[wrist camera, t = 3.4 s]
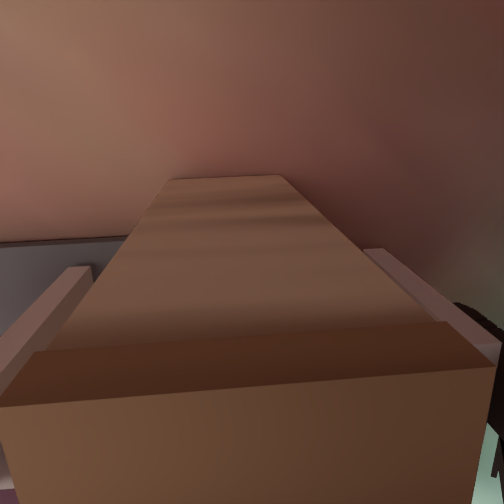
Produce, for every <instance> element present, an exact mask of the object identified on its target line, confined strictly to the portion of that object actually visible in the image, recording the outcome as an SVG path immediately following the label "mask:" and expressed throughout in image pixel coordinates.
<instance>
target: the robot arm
mask: <svg viewBox="0 0 504 504" xmlns="http://www.w3.org/2000/svg"><path fill="white" fill-rule="evenodd" d="M363 253H364V254H365V255H366V256H367V257H368V258H369V259H370V260H371V261H372V262H374V263H375V264H376V265H377V266H378V267H379V268H380V269H381V270H382V271H383V272H384V273H385V274H386V275H387V276H388V277H389V278H391V279H392V280H393V281H394V282H395V283H396V284H397V285H398V286H399V287H400V288H401V289H402V290H403V291H404V292H405V293H407V294H408V295H409V296H410V297H411V298H412V299H413V300H414V301H415V302H416V303H417V304H418V305H419V306H420V307H421V308H423V309H424V310H425V311H426V312H427V313H428V314H429V315H430V316H431V317H432V318H433V319H434V320H435V321H436V322H440V321H447V322H448V323H449V324H450V325H451V326H452V327H453V328H454V329H456V330H457V331H458V332H459V333H460V334H461V335H462V336H463V337H464V338H466V339H467V340H468V341H469V342H470V343H471V344H472V345H473V346H474V347H476V348H477V349H478V350H479V351H480V352H481V353H482V354H483V355H484V356H486V357H487V358H488V359H489V360H490V361H491V362H492V363H493V364H495V365H496V366H497V369H496V374H495V379H494V385H493V390H492V395H491V401H490V406H489V411H488V417H487V422H486V424H487V423H488V424H489V425H490V426H491V427H492V428H493V429H494V431H495V432H496V433H497V434H498V435H499V438H498V443H497V448H496V453H495V458H494V462H493V467H492V473H491V477H495V478H496V477H497V473H498V471H499V476H500V483H501V490H502V497H503V504H504V331H503V330H502V329H500V328H497V326H496V325H495V324H494V323H492V322H491V321H490V320H487V318H486V317H484V316H483V315H482V314H480V313H479V312H478V311H476V310H475V309H473V308H470V307H468V306H466V305H463V304H461V303H459V302H456V303H451V302H450V301H449V300H448V299H446V298H445V297H444V296H443V295H441V294H440V293H439V292H438V291H436V290H435V289H434V288H433V287H431V286H430V285H429V284H428V283H426V282H425V281H424V280H423V279H421V278H420V277H419V276H418V275H416V274H415V273H414V272H413V271H411V270H410V269H409V268H408V267H406V266H405V265H404V264H402V263H401V262H400V261H399V260H397V259H396V258H395V257H394V256H392V255H391V254H390V253H389V252H387V251H386V250H385V249H384V248H376V249H363ZM93 284H94V283H93V278H92V272H91V266H79V267H68V268H67V269H66V270H65V271H64V272H63V273H62V274H61V275H60V276H59V277H58V278H57V279H56V280H55V281H54V282H53V283H52V284H51V285H50V286H49V287H48V288H47V289H46V290H45V292H44V293H43V294H42V295H41V296H40V297H39V298H38V299H37V300H36V301H35V302H34V303H33V304H32V305H31V306H30V307H29V308H28V309H27V310H26V311H25V312H24V313H23V314H22V315H21V316H20V317H19V318H18V319H17V320H16V321H15V322H14V323H13V324H12V325H11V326H10V327H9V328H8V329H7V330H6V331H5V333H4V334H3V335H2V336H0V396H1V395H2V394H3V392H4V391H5V390H6V388H7V387H8V386H9V384H10V383H11V382H12V381H13V379H14V378H15V377H16V375H17V374H18V373H19V371H20V370H21V369H22V368H23V366H24V365H25V364H26V362H27V361H28V360H29V358H30V357H31V356H32V355H33V353H34V352H35V351H45V350H46V348H47V347H48V346H49V344H50V343H51V342H52V340H53V339H54V337H55V336H56V335H57V333H58V332H59V331H60V329H61V328H62V326H63V325H64V324H65V322H66V321H67V320H68V318H69V317H70V315H71V314H72V313H73V311H74V310H75V309H76V307H77V306H78V304H79V303H80V302H81V300H82V299H83V298H84V296H85V295H86V294H87V292H88V291H89V289H90V288H91V287H92V285H93ZM485 430H486V427H485ZM484 435H485V433H484ZM483 440H484V438H483ZM11 488H15V487H14V484H13V481H12V477H11V474H10V470H9V467H8V464H7V460H6V457H5V454H4V450H3V447H2V443H1V440H0V490H1V489H11Z"/></svg>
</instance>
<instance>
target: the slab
mask: <svg viewBox="0 0 504 504" xmlns="http://www.w3.org/2000/svg"><path fill="white" fill-rule="evenodd" d="M496 369H497V366H496V365H495V364H493V363H492V362H491V361H490V360H489V359H488V358H487V357H486V356H484V355H483V354H482V353H481V352H480V351H479V350H478V349H477V348H476V347H474V346H473V345H472V344H471V343H470V342H469V341H468V340H467V339H466V338H464V337H463V336H462V335H461V334H460V333H459V332H458V331H457V330H456V329H454V328H453V327H452V326H451V325H450V324H449V323H448V322H447V321H440V322H436V321H435V320H434V319H433V318H432V317H431V316H430V315H429V314H428V313H427V312H426V311H425V310H424V309H423V308H421V307H420V306H419V305H418V304H417V303H416V302H415V301H414V300H413V299H412V298H411V297H410V296H409V295H408V294H407V293H405V292H404V291H403V290H402V289H401V288H400V287H399V286H398V285H397V284H396V283H395V282H394V281H393V280H392V279H391V278H389V277H388V276H387V275H386V274H385V273H384V272H383V271H382V270H381V269H380V268H379V267H378V266H377V265H376V264H375V263H374V262H372V261H371V260H370V259H369V258H368V257H367V256H366V255H365V254H364V253H363V252H362V251H361V250H360V249H359V248H358V247H356V246H355V245H354V244H353V243H352V242H351V241H350V240H349V239H348V238H347V237H346V236H345V235H344V234H343V233H342V232H341V231H339V230H338V229H337V228H336V227H335V226H334V225H333V224H332V223H331V222H330V221H329V220H328V219H327V218H326V217H325V216H323V215H322V214H321V213H320V212H319V211H318V210H317V209H316V208H315V207H314V206H313V205H312V204H311V203H310V202H309V201H308V200H306V199H305V198H304V197H303V196H302V195H301V194H300V193H299V192H298V191H297V190H296V189H295V188H294V187H293V186H292V185H290V184H289V183H288V182H287V181H286V180H285V179H284V178H283V177H282V176H281V175H260V176H239V177H218V178H197V179H176V180H169V181H168V182H167V184H166V185H165V187H164V188H163V189H162V191H161V192H160V193H159V195H158V196H157V197H156V199H155V200H154V202H153V203H152V204H151V206H150V207H149V208H148V210H147V211H146V213H145V214H144V215H143V217H142V218H141V219H140V221H139V222H138V224H137V225H136V226H135V228H134V229H133V230H132V232H131V233H130V235H129V236H128V237H127V239H126V240H125V241H124V243H123V244H122V245H121V247H120V248H119V250H118V251H117V252H116V254H115V255H114V256H113V258H112V259H111V261H110V262H109V263H108V265H107V266H106V267H105V269H104V270H103V272H102V273H101V274H100V276H99V277H98V278H97V280H96V281H95V283H94V284H93V285H92V287H91V288H90V289H89V291H88V292H87V294H86V295H85V296H84V298H83V299H82V300H81V302H80V303H79V304H78V306H77V307H76V309H75V310H74V311H73V313H72V314H71V315H70V317H69V318H68V320H67V321H66V322H65V324H64V325H63V326H62V328H61V329H60V331H59V332H58V333H57V335H56V336H55V337H54V339H53V340H52V342H51V343H50V344H49V346H48V347H47V348H46V350H45V351H35V352H34V353H33V355H32V356H31V357H30V358H29V360H28V361H27V362H26V364H25V365H24V366H23V368H22V369H21V370H20V371H19V373H18V374H17V375H16V377H15V378H14V379H13V381H12V382H11V383H10V384H9V386H8V387H7V388H6V390H5V391H4V392H3V394H2V395H1V396H0V440H1V443H2V447H3V450H4V454H5V457H6V460H7V464H8V467H9V470H10V474H11V477H12V481H13V484H14V487H15V491H16V494H17V497H18V501H19V504H471V502H472V497H473V491H474V486H475V481H476V475H477V470H478V465H479V459H480V454H481V449H482V443H483V438H484V433H485V427H486V422H487V417H488V411H489V406H490V401H491V395H492V390H493V385H494V379H495V374H496Z"/></svg>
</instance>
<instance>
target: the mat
mask: <svg viewBox="0 0 504 504" xmlns="http://www.w3.org/2000/svg"><path fill="white" fill-rule="evenodd" d="M127 237H128V236H124V237H106V238H88V239H70V240H53V241H35V242H17V243H0V336H2V335H3V334H4V333H5V331H6V330H7V329H8V328H9V327H10V326H11V325H12V324H13V323H14V322H15V321H16V320H17V319H18V318H19V317H20V316H21V315H22V314H23V313H24V312H25V311H26V310H27V309H28V308H29V307H30V306H31V305H32V304H33V303H34V302H35V301H36V300H37V299H38V298H39V297H40V296H41V295H42V294H43V293H44V292H45V290H46V289H47V288H48V287H49V286H50V285H51V284H52V283H53V282H54V281H55V280H56V279H57V278H58V277H59V276H60V275H61V274H62V273H63V272H64V271H65V270H66V269H67V268H68V267H79V266H91V272H92V278H93V283H95V281H96V280H97V278H98V277H99V276H100V274H101V273H102V272H103V270H104V269H105V267H106V266H107V265H108V263H109V262H110V261H111V259H112V258H113V256H114V255H115V254H116V252H117V251H118V250H119V248H120V247H121V245H122V244H123V243H124V241H125V240H126V239H127Z"/></svg>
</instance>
